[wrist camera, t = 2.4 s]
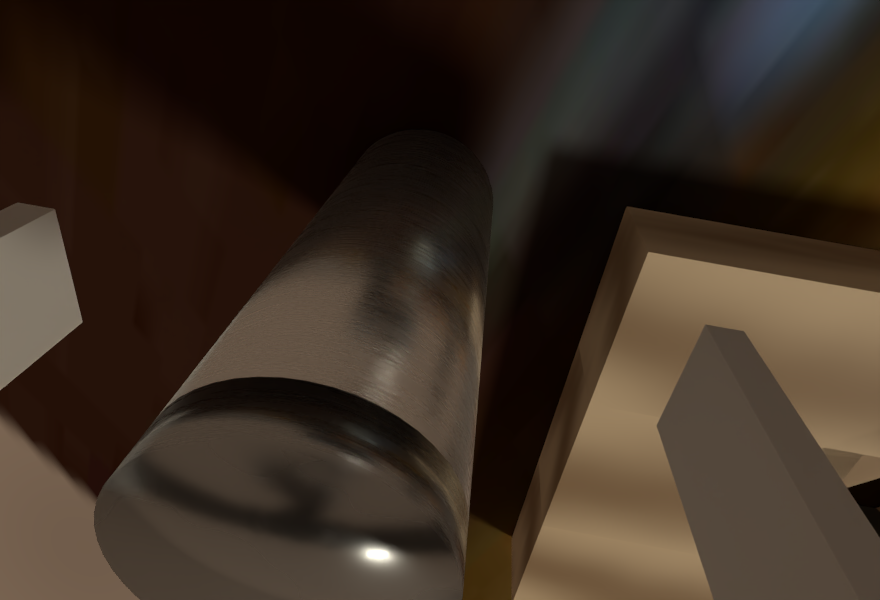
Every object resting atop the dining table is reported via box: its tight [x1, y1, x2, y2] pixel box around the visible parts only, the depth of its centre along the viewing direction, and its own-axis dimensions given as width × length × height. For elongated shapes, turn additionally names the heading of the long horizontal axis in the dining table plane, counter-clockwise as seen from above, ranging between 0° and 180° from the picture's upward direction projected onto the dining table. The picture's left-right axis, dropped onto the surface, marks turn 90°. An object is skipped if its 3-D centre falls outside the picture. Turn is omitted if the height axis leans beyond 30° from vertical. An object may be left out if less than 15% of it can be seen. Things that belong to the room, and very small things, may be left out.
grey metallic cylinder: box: [94, 129, 493, 600], centre depth 12 cm, size 4×4×12 cm
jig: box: [512, 206, 880, 600], centre depth 19 cm, size 16×18×3 cm
